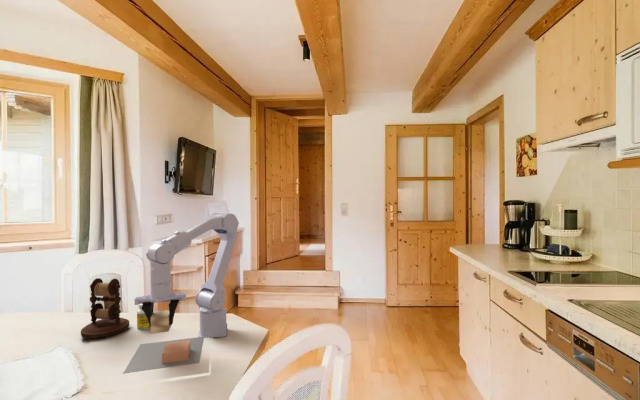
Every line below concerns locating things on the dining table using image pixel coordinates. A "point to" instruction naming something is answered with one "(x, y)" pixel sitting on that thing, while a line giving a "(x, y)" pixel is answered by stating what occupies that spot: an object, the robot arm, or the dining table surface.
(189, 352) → the build board
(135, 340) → the dining table surface
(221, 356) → the dining table surface
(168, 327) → the beech cube
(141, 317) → the supplement bottle
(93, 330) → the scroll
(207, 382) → the dining table surface
